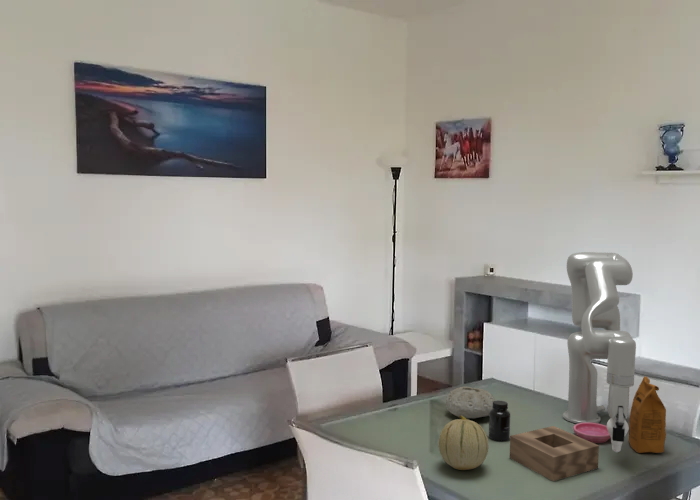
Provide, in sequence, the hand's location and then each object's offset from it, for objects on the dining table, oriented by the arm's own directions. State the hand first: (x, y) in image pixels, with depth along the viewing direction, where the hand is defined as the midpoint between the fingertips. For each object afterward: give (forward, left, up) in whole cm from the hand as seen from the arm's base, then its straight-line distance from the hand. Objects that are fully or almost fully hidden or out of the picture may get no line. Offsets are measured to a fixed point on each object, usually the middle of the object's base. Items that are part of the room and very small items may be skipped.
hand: (617, 435), depth 198 cm
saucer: (-10, -17, -9) cm, 22 cm away
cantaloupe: (+43, -18, -8) cm, 48 cm away
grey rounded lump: (+13, -52, -8) cm, 55 cm away
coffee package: (-18, -3, -8) cm, 20 cm away
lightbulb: (0, 0, -5) cm, 5 cm away
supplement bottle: (+18, -31, -8) cm, 37 cm away
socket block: (+17, -8, -8) cm, 21 cm away
